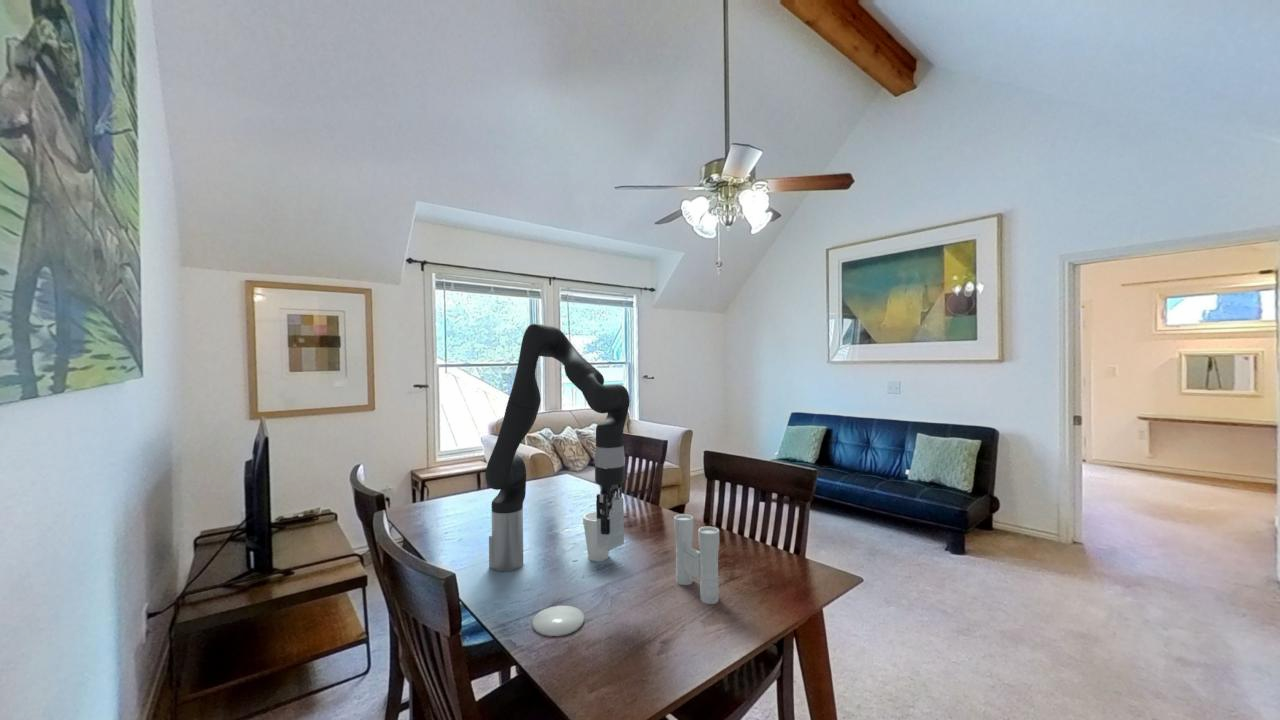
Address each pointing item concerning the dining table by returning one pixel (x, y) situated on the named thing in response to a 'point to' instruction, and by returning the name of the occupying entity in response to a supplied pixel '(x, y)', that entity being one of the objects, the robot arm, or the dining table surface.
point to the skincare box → (612, 527)
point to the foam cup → (593, 538)
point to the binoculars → (697, 557)
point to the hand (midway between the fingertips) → (610, 528)
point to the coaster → (558, 620)
